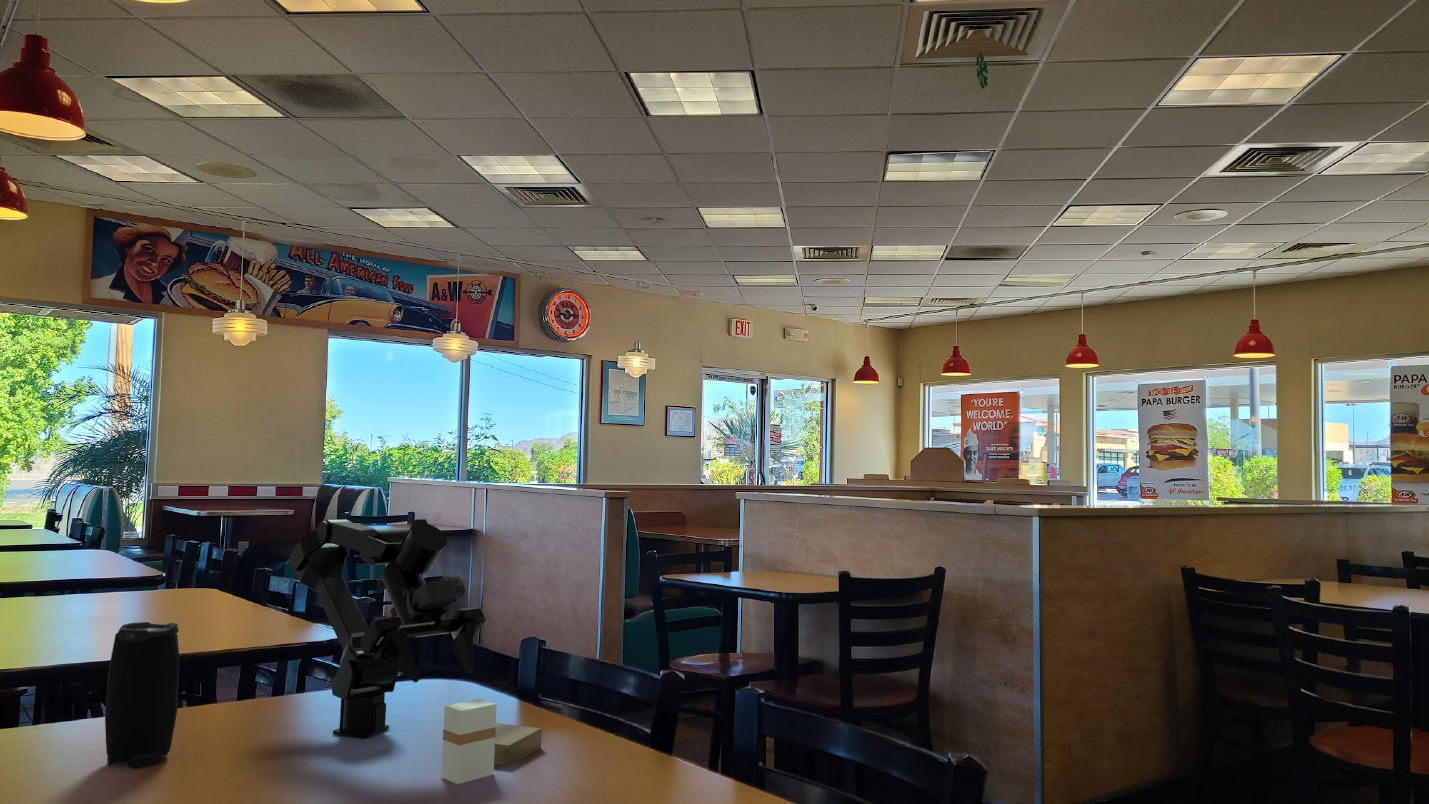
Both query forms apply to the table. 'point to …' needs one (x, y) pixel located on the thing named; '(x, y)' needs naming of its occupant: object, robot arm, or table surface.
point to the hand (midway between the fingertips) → (445, 675)
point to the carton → (468, 741)
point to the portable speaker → (142, 694)
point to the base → (515, 743)
